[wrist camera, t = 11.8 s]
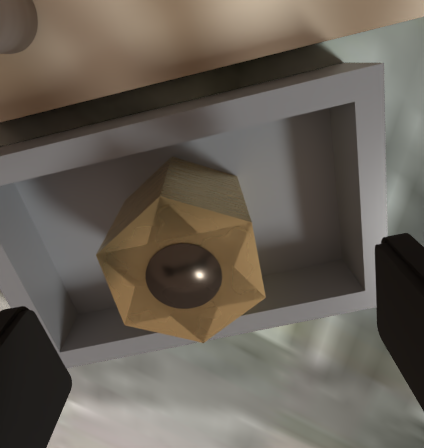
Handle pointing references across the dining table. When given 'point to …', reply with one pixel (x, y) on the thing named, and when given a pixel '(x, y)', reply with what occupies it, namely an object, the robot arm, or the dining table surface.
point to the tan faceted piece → (183, 253)
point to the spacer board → (158, 41)
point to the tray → (222, 161)
